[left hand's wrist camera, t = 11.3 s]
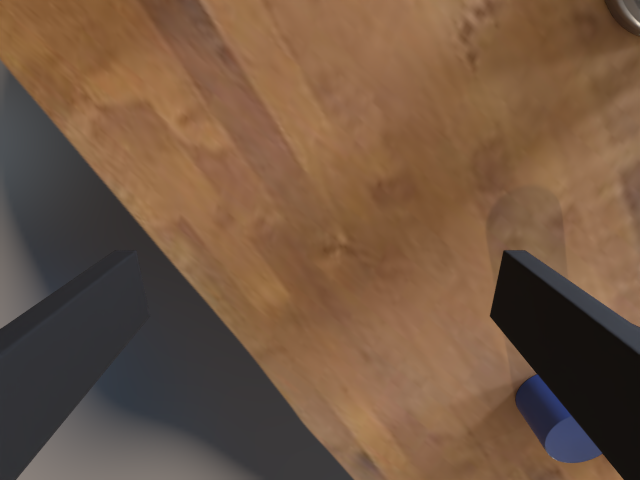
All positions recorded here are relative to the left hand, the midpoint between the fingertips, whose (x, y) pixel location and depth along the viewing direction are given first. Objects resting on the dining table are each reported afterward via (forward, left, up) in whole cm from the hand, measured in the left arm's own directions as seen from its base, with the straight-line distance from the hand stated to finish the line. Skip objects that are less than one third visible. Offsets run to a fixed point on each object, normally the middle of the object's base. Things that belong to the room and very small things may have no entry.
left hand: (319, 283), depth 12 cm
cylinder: (-24, +41, -28) cm, 55 cm away
